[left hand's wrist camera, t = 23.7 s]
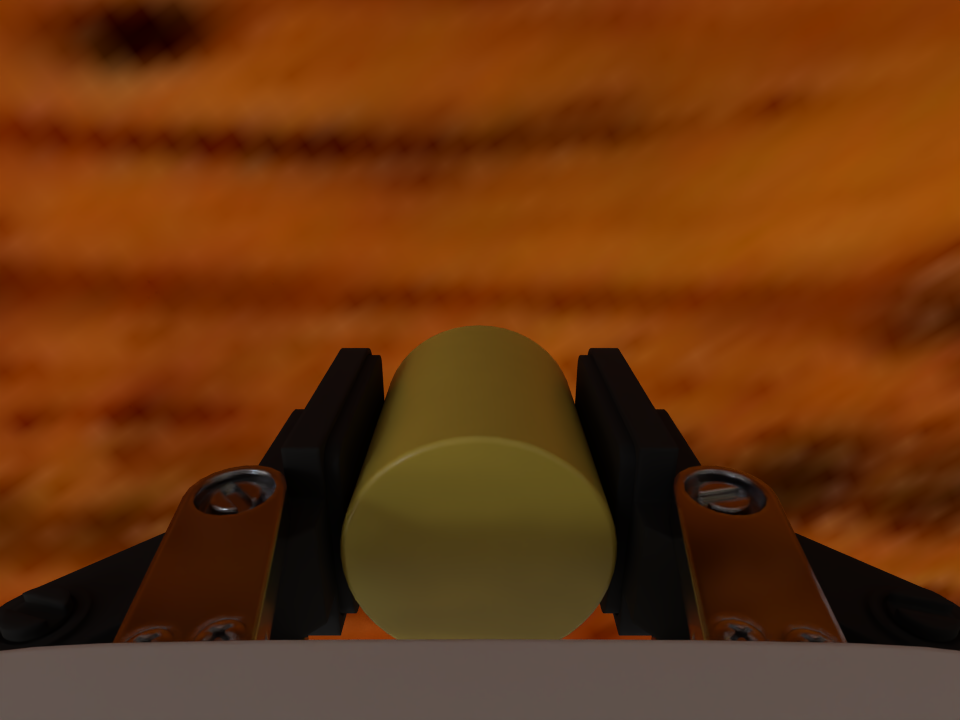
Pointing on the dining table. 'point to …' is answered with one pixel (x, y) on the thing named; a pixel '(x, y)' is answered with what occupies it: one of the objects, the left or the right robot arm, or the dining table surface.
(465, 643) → the left robot arm
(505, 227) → the dining table surface
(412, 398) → the tin
